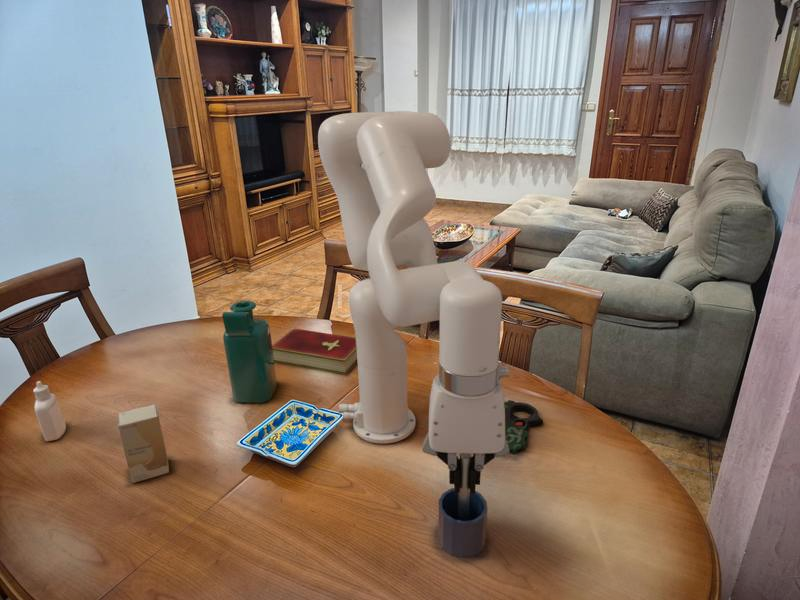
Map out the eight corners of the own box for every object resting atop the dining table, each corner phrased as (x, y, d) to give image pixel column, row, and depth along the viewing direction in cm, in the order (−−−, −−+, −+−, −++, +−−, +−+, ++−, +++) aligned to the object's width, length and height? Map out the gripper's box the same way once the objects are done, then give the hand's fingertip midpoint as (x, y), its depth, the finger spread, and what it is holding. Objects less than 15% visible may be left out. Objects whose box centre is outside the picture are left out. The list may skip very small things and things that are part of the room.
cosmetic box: (131, 484, 89) (115, 426, 84) (131, 469, 93) (115, 413, 88) (171, 472, 92) (158, 415, 87) (169, 458, 95) (156, 402, 91)
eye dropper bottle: (75, 425, 105) (59, 375, 100) (54, 443, 100) (36, 391, 95) (57, 423, 106) (40, 373, 101) (35, 440, 101) (16, 388, 96)
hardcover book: (294, 340, 139) (293, 326, 137) (366, 351, 132) (365, 337, 130) (270, 361, 128) (268, 346, 127) (346, 375, 122) (345, 359, 120)
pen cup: (438, 559, 74) (439, 523, 71) (437, 520, 81) (438, 486, 78) (487, 561, 74) (489, 524, 71) (482, 522, 80) (484, 487, 77)
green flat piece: (536, 455, 92) (481, 443, 95) (535, 462, 93) (481, 450, 96) (545, 406, 106) (497, 397, 109) (545, 412, 107) (497, 403, 110)
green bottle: (243, 382, 119) (229, 295, 111) (279, 383, 119) (268, 295, 110) (228, 407, 110) (212, 314, 102) (267, 407, 110) (254, 314, 101)
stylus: (457, 530, 75) (459, 458, 70) (457, 521, 76) (459, 451, 71) (468, 530, 75) (471, 459, 70) (468, 522, 76) (470, 451, 71)
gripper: (524, 360, 69) (515, 469, 76) (408, 359, 70) (410, 467, 77) (535, 391, 62) (524, 508, 69) (406, 389, 63) (408, 504, 70)
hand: (464, 485), depth 73 cm, fingers closed on stylus, 1 cm apart
